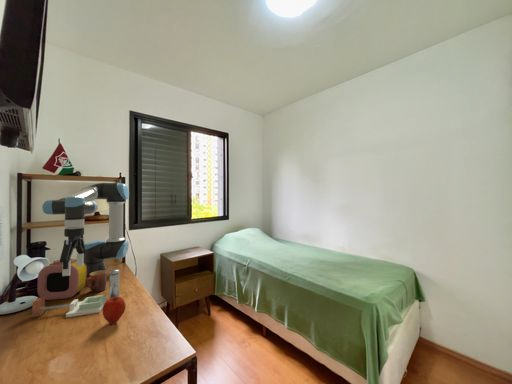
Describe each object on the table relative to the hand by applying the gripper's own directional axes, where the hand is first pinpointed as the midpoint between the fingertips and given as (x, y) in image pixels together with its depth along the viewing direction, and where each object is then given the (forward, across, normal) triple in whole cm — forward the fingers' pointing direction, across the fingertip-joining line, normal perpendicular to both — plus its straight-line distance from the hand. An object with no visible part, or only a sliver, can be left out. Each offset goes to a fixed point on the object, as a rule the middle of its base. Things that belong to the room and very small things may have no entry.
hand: (73, 270), depth 106 cm
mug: (+18, -18, +4) cm, 26 cm away
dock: (+18, +3, +8) cm, 20 cm away
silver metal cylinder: (+18, -5, +16) cm, 25 cm away
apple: (+18, +21, +23) cm, 36 cm away
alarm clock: (+18, -17, -11) cm, 27 cm away
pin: (+18, +4, -5) cm, 19 cm away
